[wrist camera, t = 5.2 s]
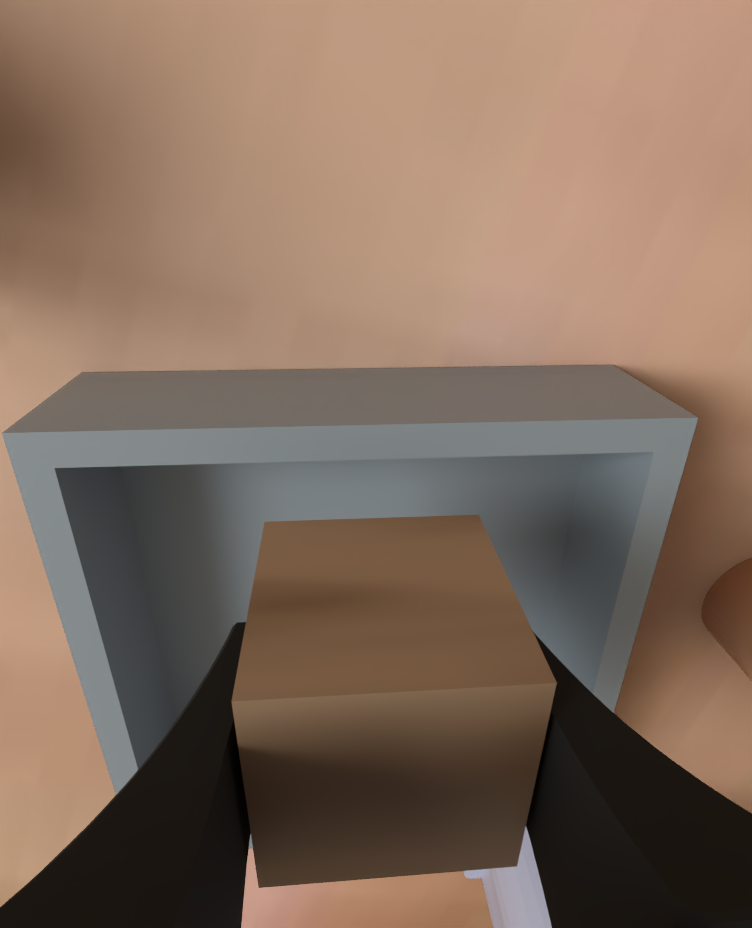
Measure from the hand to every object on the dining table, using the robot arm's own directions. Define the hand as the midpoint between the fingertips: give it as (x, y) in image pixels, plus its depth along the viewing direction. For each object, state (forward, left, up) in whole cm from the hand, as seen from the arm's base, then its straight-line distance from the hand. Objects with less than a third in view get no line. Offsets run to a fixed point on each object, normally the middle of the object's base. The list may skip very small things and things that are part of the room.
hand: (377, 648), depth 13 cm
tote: (-5, 0, -9) cm, 10 cm away
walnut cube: (0, 0, -2) cm, 2 cm away
